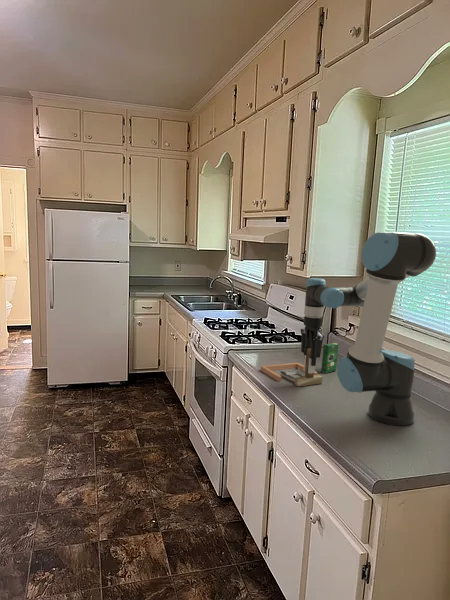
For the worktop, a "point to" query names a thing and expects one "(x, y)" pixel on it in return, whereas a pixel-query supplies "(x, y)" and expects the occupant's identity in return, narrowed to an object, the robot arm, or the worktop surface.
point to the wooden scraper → (308, 374)
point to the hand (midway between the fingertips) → (309, 371)
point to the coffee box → (329, 357)
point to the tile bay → (274, 375)
